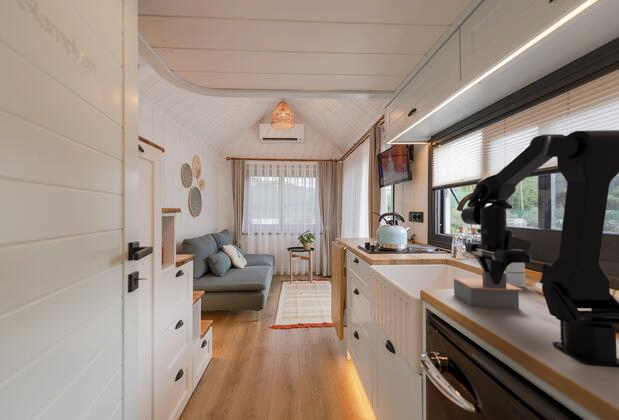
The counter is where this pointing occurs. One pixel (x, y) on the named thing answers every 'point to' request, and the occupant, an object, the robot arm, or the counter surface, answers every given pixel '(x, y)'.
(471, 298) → the grey open tray
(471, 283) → the lid
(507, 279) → the syrup box
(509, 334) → the counter surface
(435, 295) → the counter surface
